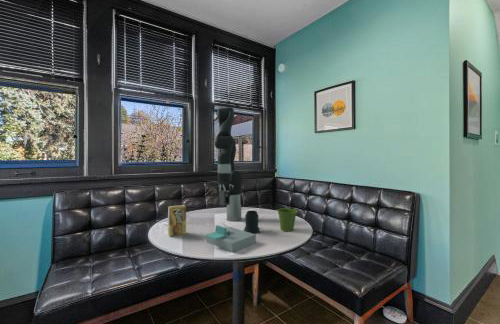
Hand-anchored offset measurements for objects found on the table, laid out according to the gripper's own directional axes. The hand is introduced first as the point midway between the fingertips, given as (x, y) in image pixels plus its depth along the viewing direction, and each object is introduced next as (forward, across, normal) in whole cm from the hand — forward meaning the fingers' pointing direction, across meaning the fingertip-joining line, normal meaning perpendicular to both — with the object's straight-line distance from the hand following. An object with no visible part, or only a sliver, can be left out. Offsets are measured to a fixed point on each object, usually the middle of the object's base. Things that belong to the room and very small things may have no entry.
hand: (224, 202), depth 127 cm
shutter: (+12, +12, -16) cm, 24 cm away
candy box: (+16, -16, -20) cm, 31 cm away
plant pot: (+17, +24, +27) cm, 40 cm away
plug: (+1, 0, 0) cm, 1 cm away
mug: (+17, +10, +12) cm, 23 cm away
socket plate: (+17, +14, -9) cm, 24 cm away
